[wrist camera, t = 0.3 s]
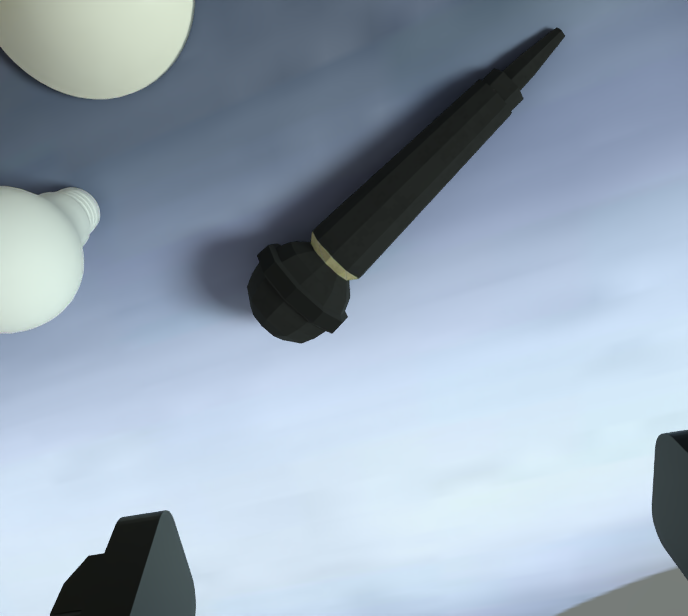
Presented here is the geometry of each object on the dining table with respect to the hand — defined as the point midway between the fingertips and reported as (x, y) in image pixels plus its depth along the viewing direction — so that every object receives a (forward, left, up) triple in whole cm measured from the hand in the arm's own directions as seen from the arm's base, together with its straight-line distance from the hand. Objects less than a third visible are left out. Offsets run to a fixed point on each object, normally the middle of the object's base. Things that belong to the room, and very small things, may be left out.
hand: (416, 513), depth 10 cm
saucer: (0, -16, -24) cm, 29 cm away
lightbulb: (+10, -12, -24) cm, 29 cm away
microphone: (0, +2, -25) cm, 25 cm away
